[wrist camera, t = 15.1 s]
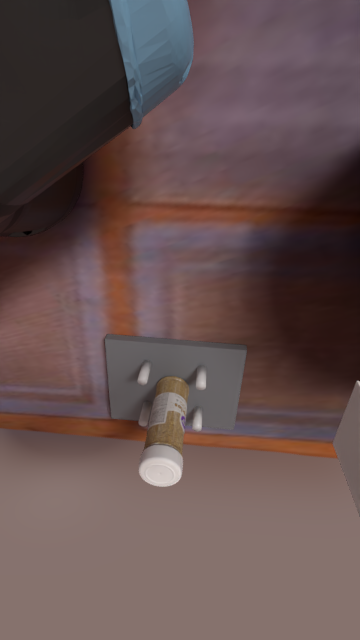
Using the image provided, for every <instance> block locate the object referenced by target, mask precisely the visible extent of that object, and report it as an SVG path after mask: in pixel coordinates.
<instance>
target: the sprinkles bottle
mask: <svg viewBox="0 0 360 640" xmlns="http://www.w3.org/2000/svg"><path fill="white" fill-rule="evenodd" d="M188 395H189V387H188V384H187V383H186V382H185V381H184V380H183V379H181V378H179V377H176V376H168V377H164V378H163V379H161V380H160V381H159V382H158V383H157V387H156V395H155V400H154V402H153V407H152V411H151V416H150V420H149V425H148V430H147V437H146V442H145V447H144V450H143V452H142V454H141V458H140V462H139V474H140V476H141V477H142V478H143V480H144V481H146V482H147V483H149V484H151V485H155V486H161V487H164V486H171V485H173V484H175V483H177V482H178V481H179V480H180V478H181V475H182V469H183V458H182V446H183V437H184V432H185V422H186V413H187V399H188Z"/></svg>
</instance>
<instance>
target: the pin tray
mask: <svg viewBox="0 0 360 640" xmlns="http://www.w3.org/2000/svg"><path fill="white" fill-rule="evenodd" d="M105 348H106V360H107V373H108V385H109V397H110V409H111V418H113V419H123V420H134V421H139V425H140V426H147V424H148V422H149V420H150V416H151V411H152V407H153V402H154V400H155V395H156V387H157V383H158V382H159V381H160V380H161V379H163V378H164V377H168V376H176V377H179V378H181V379H183V380H184V381H185V382H186V383H187V384H188V387H189V395H188V399H187V413H186V422H185V425H188V426H193V430H194V431H200V430H201V429H202V427H210V428H220V429H231V430H234V425H235V419H236V413H237V407H238V401H239V395H240V389H241V383H242V377H243V371H244V365H245V359H246V354H247V347H246V345H238V344H226V343H213V342H201V341H188V340H176V339H163V338H151V337H138V336H126V335H113V334H107V336H106V338H105Z"/></svg>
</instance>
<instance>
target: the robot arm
mask: <svg viewBox="0 0 360 640" xmlns="http://www.w3.org/2000/svg"><path fill="white" fill-rule="evenodd" d="M193 47H194V39H193V30H192V23H191V17H190V12H189V7H188V3H187V0H0V236H11V237H24V236H31V235H35V234H38V233H41V232H43V231H46V230H48V229H49V228H51V227H52V226H54V225H56V224H57V223H59V222H60V221H61V220H63V219H64V218H65V217H66V216H67V215H68V214H69V212H70V211H71V210H72V208H73V207H74V205H75V203H76V201H77V199H78V197H79V194H80V191H81V187H82V181H83V161H85V160H86V159H87V158H89V157H90V156H91V155H93V154H94V153H95V152H97V151H98V150H99V149H101V148H102V147H103V146H105V145H106V144H107V143H109V142H110V141H111V140H113V139H114V138H115V137H117V136H118V135H119V134H121V133H122V132H123V131H125V130H126V129H127V128H129V127H130V126H131V127H132V128H133V129H136V128H137V127H138V126H139V125H140V124H141V122H142V118H143V117H144V116H145V115H146V114H148V113H149V112H150V111H151V110H152V109H154V108H155V107H156V106H157V105H159V104H160V103H161V102H162V101H163V100H165V99H166V98H167V97H168V96H170V95H171V94H172V93H173V92H174V91H176V90H177V89H178V88H179V87H180V86H181V85H182V83H183V82H184V81H185V79H186V77H187V76H188V73H189V70H190V67H191V63H192V60H193ZM333 446H334V448H335V451H336V454H337V457H338V459H339V462H340V465H341V467H342V470H343V472H344V475H345V478H346V481H347V483H348V486H349V489H350V491H351V494H352V497H353V499H354V502H355V505H356V507H357V510H358V513H359V516H360V381H356V384H355V387H354V389H353V392H352V394H351V397H350V400H349V402H348V405H347V407H346V410H345V413H344V415H343V418H342V420H341V423H340V426H339V428H338V431H337V433H336V436H335V439H334V441H333Z"/></svg>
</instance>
